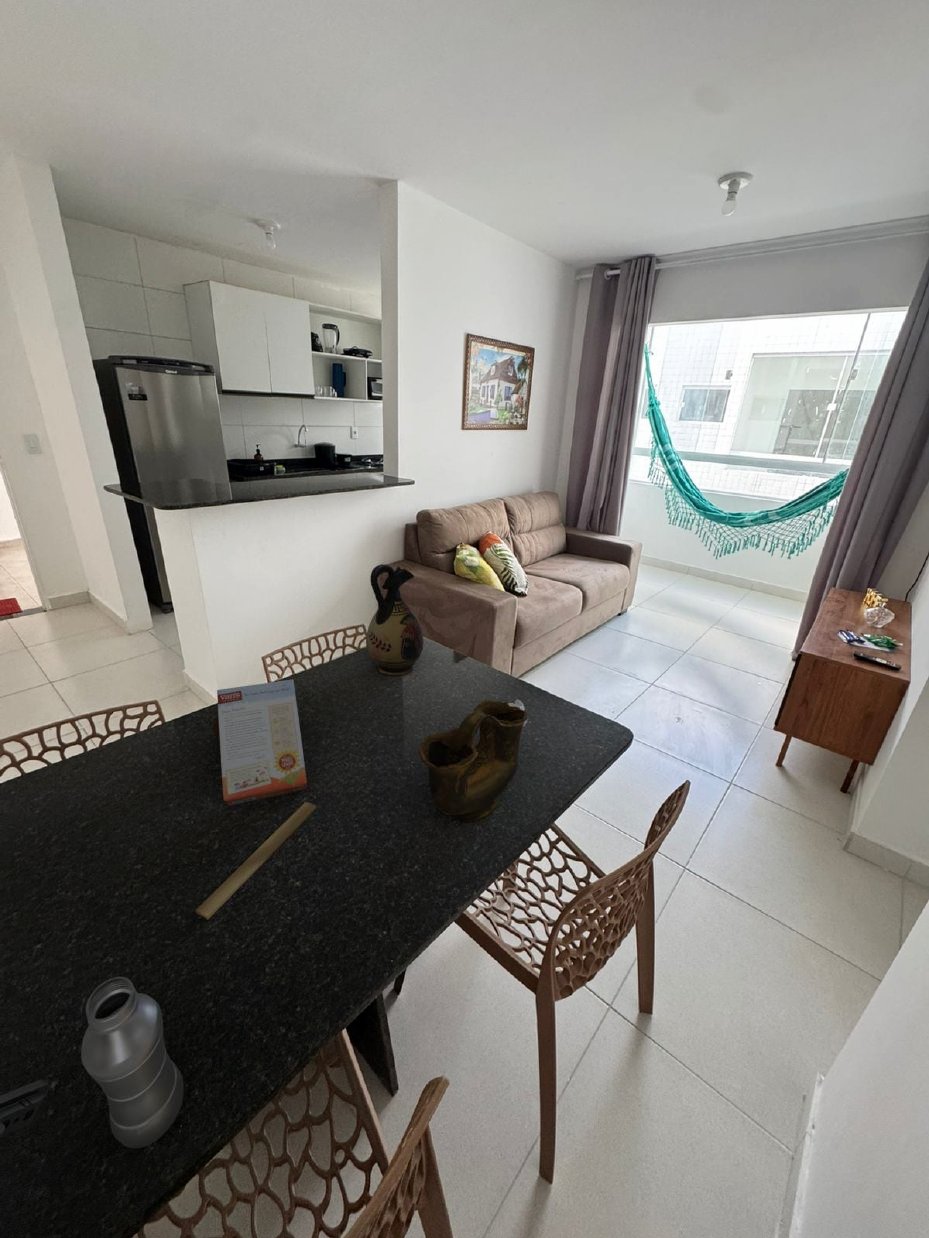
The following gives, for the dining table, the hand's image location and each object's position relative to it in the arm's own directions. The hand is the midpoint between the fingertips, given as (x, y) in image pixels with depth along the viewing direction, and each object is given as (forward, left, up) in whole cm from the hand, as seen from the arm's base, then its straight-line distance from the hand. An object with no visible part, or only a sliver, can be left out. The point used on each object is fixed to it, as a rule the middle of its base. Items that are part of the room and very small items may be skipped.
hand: (4, 1066), depth 38 cm
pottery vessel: (+12, +63, -23) cm, 69 cm away
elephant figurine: (+11, +90, -23) cm, 94 cm away
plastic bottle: (0, +7, -23) cm, 24 cm away
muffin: (-36, +56, -23) cm, 71 cm away
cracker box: (-21, +46, -21) cm, 54 cm away
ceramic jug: (-27, +100, -23) cm, 106 cm away
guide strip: (-14, +37, -23) cm, 46 cm away
